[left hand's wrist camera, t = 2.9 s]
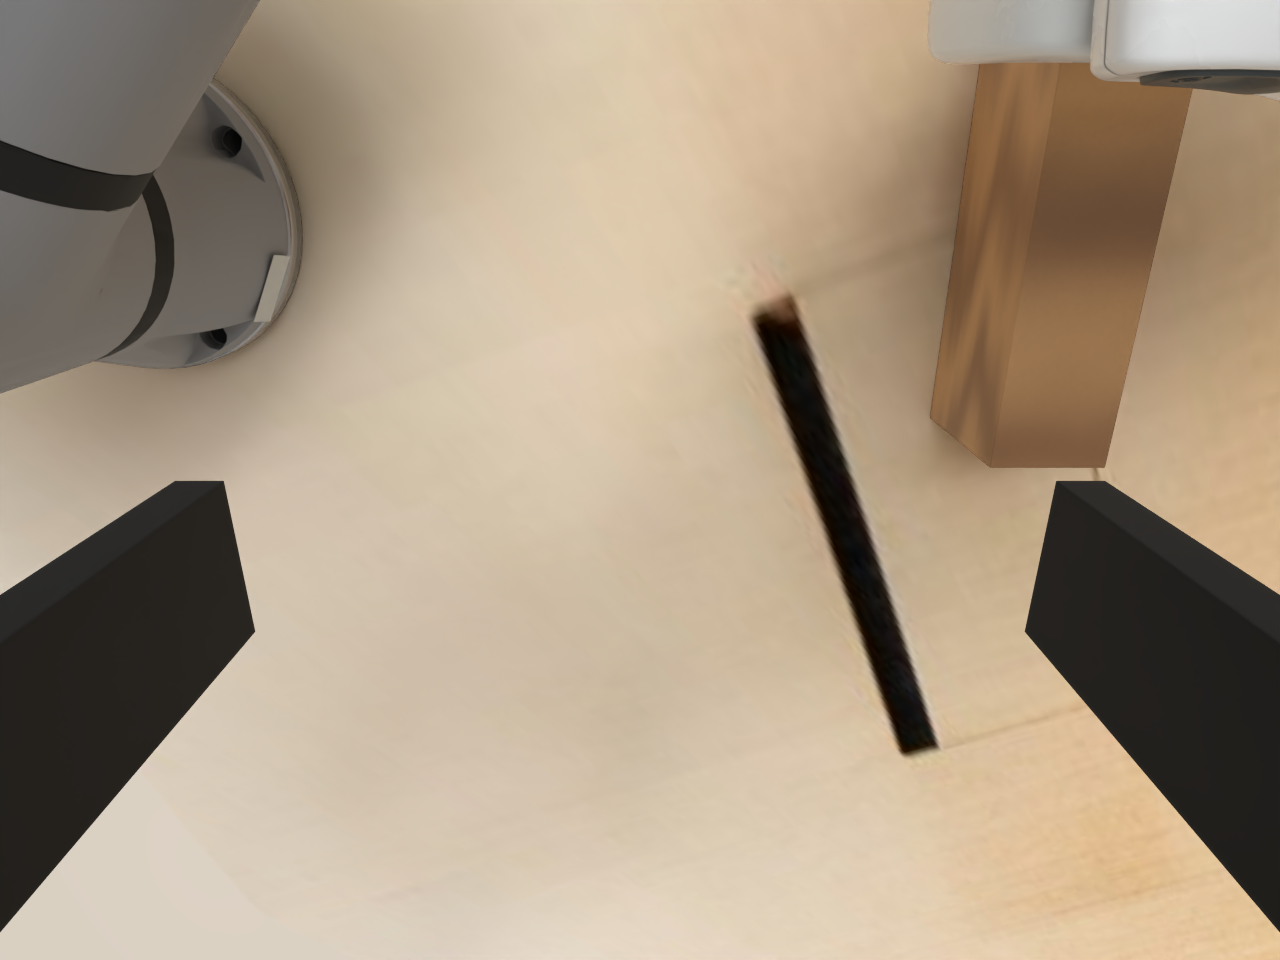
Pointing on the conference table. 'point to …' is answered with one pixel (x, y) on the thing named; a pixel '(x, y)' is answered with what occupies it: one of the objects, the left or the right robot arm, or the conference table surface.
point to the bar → (1052, 260)
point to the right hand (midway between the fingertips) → (1146, 30)
